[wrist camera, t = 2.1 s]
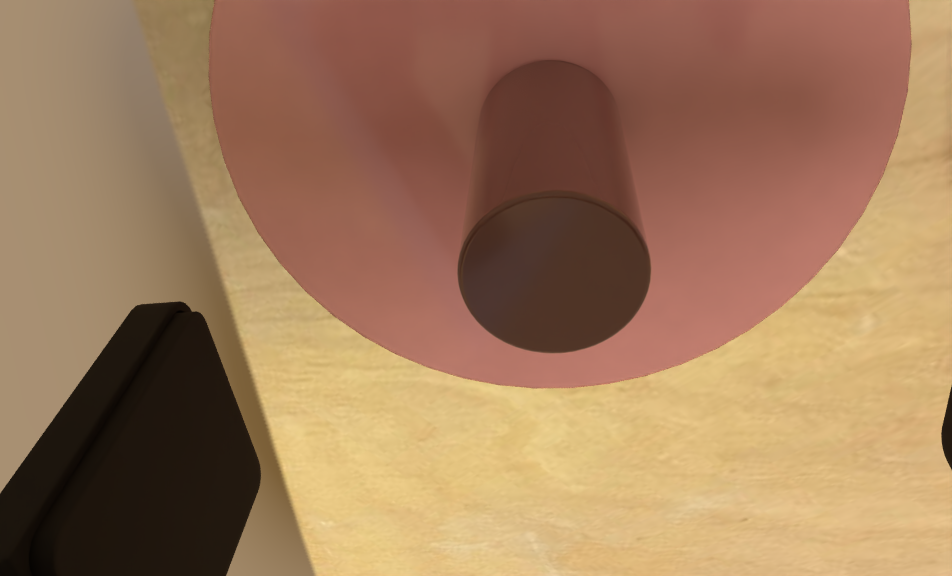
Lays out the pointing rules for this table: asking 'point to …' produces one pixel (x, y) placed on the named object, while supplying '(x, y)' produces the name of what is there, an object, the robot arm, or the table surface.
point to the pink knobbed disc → (556, 167)
